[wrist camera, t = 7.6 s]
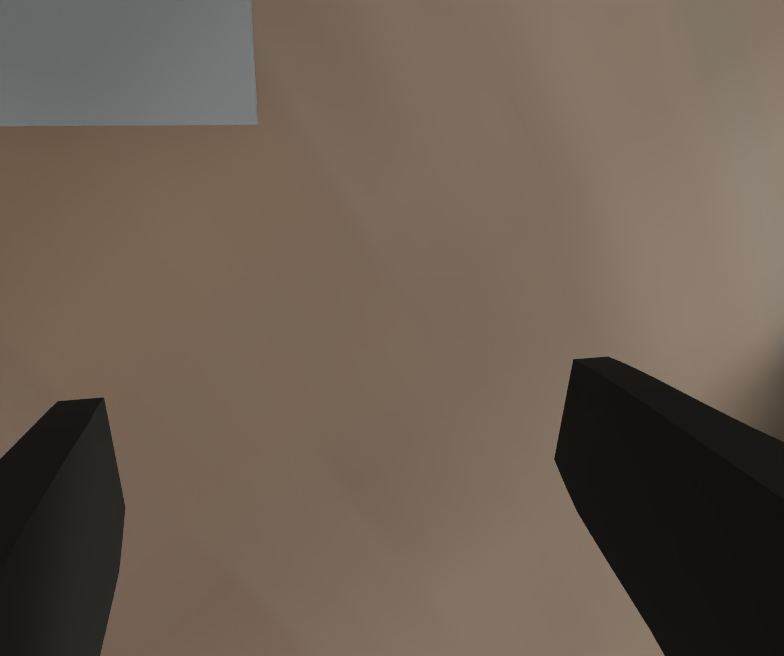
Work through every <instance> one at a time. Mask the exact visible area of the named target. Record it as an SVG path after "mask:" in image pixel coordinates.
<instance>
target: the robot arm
mask: <svg viewBox="0 0 784 656" xmlns="http://www.w3.org/2000/svg"><path fill="white" fill-rule="evenodd" d="M554 460H555V462H556V464H557V467H558V469H559V472H560V474H561V476H562V479H563V481H564V484H565V486H566V488H567V490H568V493H569V495H570V497H571V499H572V501H573V503H574V506H575V508H576V510H577V512H578V514H579V515H580V517H581V519H582V520H583V522H584V524H585V526H586V527H587V529H588V530H589V532H590V534H591V535H592V537H593V539H594V540H595V542H596V544H597V545H598V547H599V548H600V550H601V552H602V553H603V555H604V557H605V558H606V560H607V561H608V563H609V565H610V566H611V568H612V569H613V571H614V573H615V574H616V576H617V577H618V579H619V581H620V582H621V584H622V585H623V587H624V589H625V590H626V592H627V593H628V595H629V597H630V598H631V600H632V601H633V603H634V605H635V606H636V608H637V609H638V611H639V613H640V614H641V616H642V617H643V619H644V621H645V622H646V624H647V625H648V627H649V629H650V630H651V632H652V634H653V636H654V637H655V639H656V641H657V643H658V644H659V646H660V648H661V650H662V651H663V653H664V655H665V656H784V442H782V441H780V440H778V439H776V438H774V437H771V436H769V435H767V434H765V433H763V432H761V431H758V430H756V429H754V428H752V427H750V426H748V425H746V424H744V423H742V422H740V421H738V420H736V419H734V418H732V417H730V416H728V415H726V414H724V413H722V412H720V411H718V410H716V409H714V408H712V407H710V406H708V405H706V404H704V403H702V402H700V401H698V400H696V399H694V398H692V397H691V396H689V395H687V394H685V393H683V392H681V391H679V390H677V389H675V388H673V387H671V386H669V385H667V384H665V383H663V382H661V381H660V380H658V379H656V378H654V377H652V376H650V375H648V374H646V373H644V372H642V371H640V370H637V369H635V368H633V367H631V366H629V365H627V364H625V363H622V362H620V361H617V360H615V359H612V358H610V357H597V358H585V359H573V364H572V369H571V374H570V380H569V385H568V390H567V395H566V401H565V406H564V411H563V416H562V421H561V427H560V432H559V437H558V442H557V448H556V453H555V458H554ZM124 515H125V504H124V498H123V493H122V488H121V483H120V478H119V473H118V467H117V462H116V457H115V452H114V447H113V442H112V437H111V431H110V426H109V421H108V416H107V411H106V406H105V400H104V398H92V399H80V400H68V401H58V402H57V403H56V404H55V405H54V406H53V407H51V408H50V409H49V410H48V411H47V412H46V413H45V414H44V415H43V416H42V417H41V418H40V419H39V421H38V422H37V423H36V424H35V425H34V426H33V427H32V428H31V429H30V430H29V431H28V432H27V433H26V434H25V435H24V436H23V437H22V438H21V439H20V440H19V441H18V442H17V443H16V444H15V445H14V446H13V447H12V448H11V449H10V450H9V451H8V452H7V453H6V454H5V455H4V456H3V457H2V458H1V459H0V656H100V653H101V649H102V645H103V640H104V636H105V632H106V627H107V623H108V619H109V614H110V610H111V605H112V601H113V596H114V592H115V588H116V583H117V578H118V574H119V567H120V557H121V548H122V538H123V527H124Z"/></svg>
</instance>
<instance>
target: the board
mask: <svg viewBox="0 0 784 656" xmlns="http://www.w3.org/2000/svg"><path fill="white" fill-rule="evenodd" d="M124 125H258V120H257V102H256V83H255V64H254V46H253V27H252V8H251V0H0V126H124Z"/></svg>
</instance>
